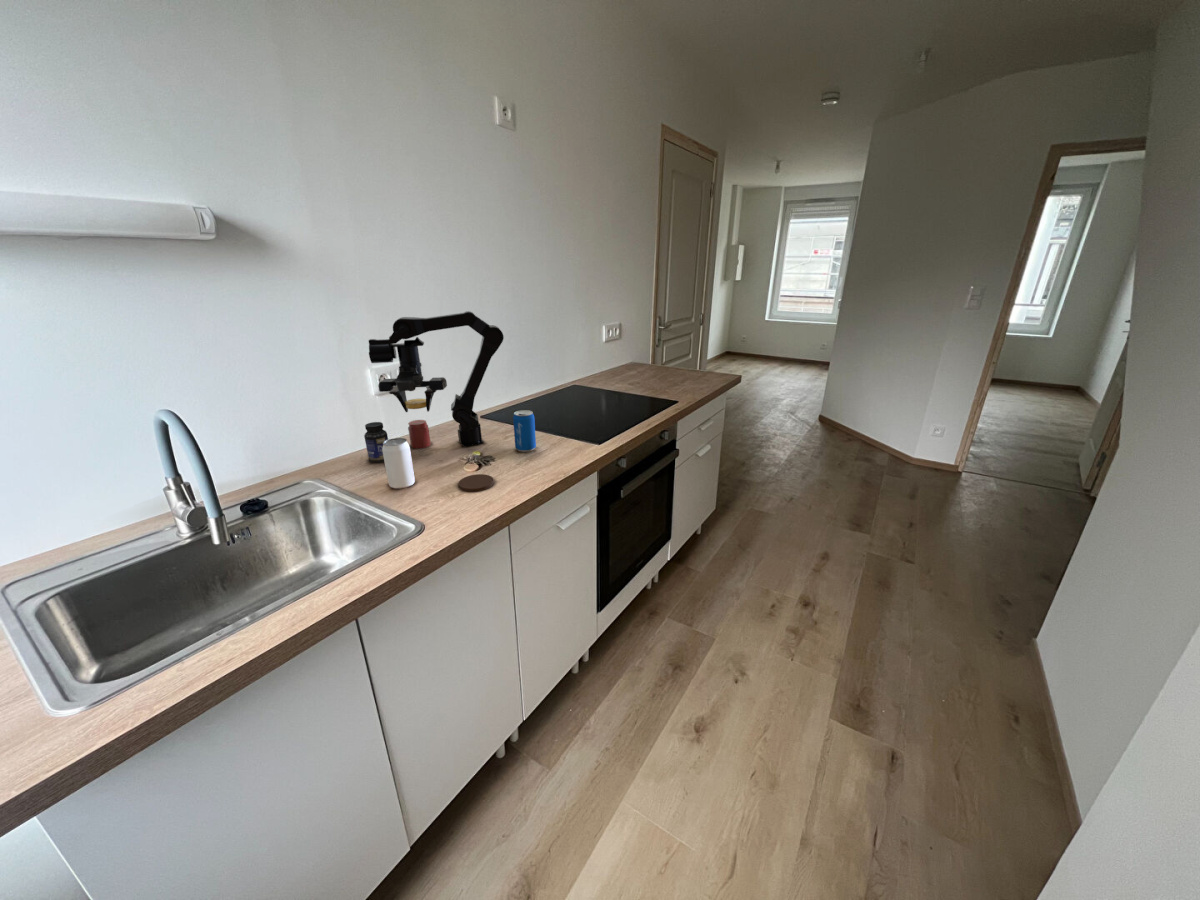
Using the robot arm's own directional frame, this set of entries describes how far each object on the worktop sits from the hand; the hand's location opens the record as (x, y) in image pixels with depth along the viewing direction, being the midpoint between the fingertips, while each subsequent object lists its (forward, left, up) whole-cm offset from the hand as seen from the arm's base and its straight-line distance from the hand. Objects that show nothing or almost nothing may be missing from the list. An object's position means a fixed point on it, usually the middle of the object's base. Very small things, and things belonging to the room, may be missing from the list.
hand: (417, 411), depth 140 cm
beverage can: (-28, +19, -12) cm, 35 cm away
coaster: (-7, +36, -12) cm, 38 cm away
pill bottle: (+13, +4, -12) cm, 18 cm away
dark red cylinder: (0, -2, -12) cm, 12 cm away
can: (+10, +25, -12) cm, 30 cm away
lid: (0, 0, +3) cm, 3 cm away
